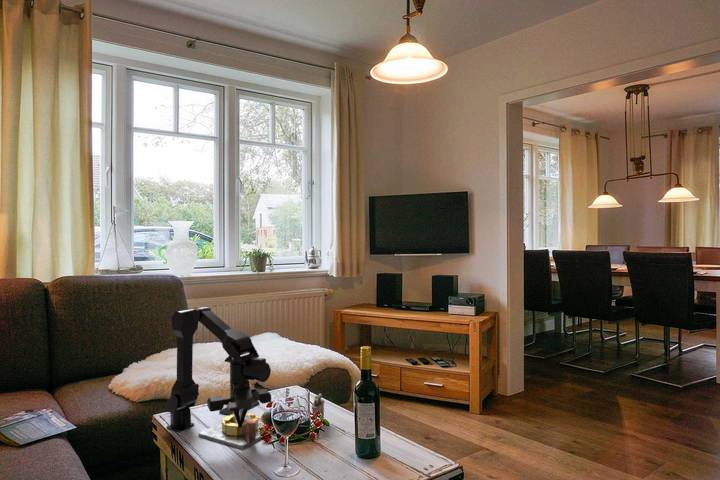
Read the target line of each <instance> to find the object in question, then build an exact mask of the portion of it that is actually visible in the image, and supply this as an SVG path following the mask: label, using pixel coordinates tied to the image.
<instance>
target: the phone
mask: <svg viewBox="0 0 720 480" xmlns="http://www.w3.org/2000/svg"><path fill="white" fill-rule="evenodd" d="M258 405H260V401H259V400H258V401H257V402H253V407H252V408H254V407H256V406H258ZM252 408H250V409H249V410H251V409H252ZM239 412H240V409H239ZM218 413H219V415H225V416H230V415H233V411H229V409H228V408H227V406H226V407H223V408H222V410H219V412H218Z"/></svg>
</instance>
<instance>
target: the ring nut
mask: <svg viewBox="0 0 720 480" xmlns="http://www.w3.org/2000/svg"><path fill="white" fill-rule="evenodd" d="M258 420H259V417H258V416H257V415H256V414H255V413H250V412H249V413H248V412H247V413H246V416H245V419H244V422H243V425H242V427H241V428H239V427H238V424H236V423H234V414H233V415H230V416H229V415H226V417H224V418H223V419H221V423H222V431H223V432H224V433H225V434H226V435H235V436H237V435H239V436H240V435H243V437H244V438H245V439H246V441H247V442H248V443H249V444H251V443H253V444H255V443H257V441H256V429H257V428H258ZM251 445H252V444H251Z"/></svg>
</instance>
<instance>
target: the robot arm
mask: <svg viewBox="0 0 720 480" xmlns="http://www.w3.org/2000/svg"><path fill="white" fill-rule="evenodd" d="M170 319H171V329H172V332H173V333H174V335H175V336H176V378H175V382H174V384H173V386H172V387H171V390H170V397H169V399H168V400H167V401H166V402H165V403H164V404H163V407H164V410H165V412H168V413H170V414H169V415H170V417H169V418H170V421H169V423H170V424H168V425H167V426H166V429H169V430H172V431H176V432H182V431H183V430H186V429H188V428H191V427H193V426H195V423H194V422H192V418H191V417H192V413H191V408H192V407H195V405H196V402H197V400H198V396H200V393H199V390H200V389H199V388H200V385H199V384H198V383H196V381H194V379H193V362H194V361H193V358H194V356H193V355H194V354H193V352H194V349H193V347H194V345H193V344H194V343H193V341H194V335H195V333H196V331H197V329H198V328H199V323H200V324H201V325H202V326H203V327H205V328H206V329H207V330H208V331H209V332H210V333H212V335H214V336H215V337H216V338H217V339H218V340H219V341H220V342H221V345H222V349H223V350H224V351H225V352H226V353H227V355H228V356H227V357H226V358H225V359H224V362H225V363H229V397H225V398H223V397H222V396H221V395H214V396H209V397H208V398H207V401H206V403H207V404H206V405H207V409H208V410H209V411H210V412H217V411H220V410H222V409H224V408H225V407H224V406H226V407H227V408H228V409H229V411H233V413H234V416H235V419H236V422H237V424H238V427H239V428H241V427H242V425H243V422H244V419H245V416H246V413H248V412H249V410H251V409H252V407H253V402H257V401H259V403H261V404H266V403H267V404H268V403H271V402H272V394H271V392H270V391H268V389H267V388H263V389H262V388H261V389H259V388H253V389H252V388H251V385H250V381H255V382H258V383H259V382H260V383H266V382H267V381H268V380H269V379H270V376H271V372H272V369H271V366H270V364H269V363H268V362H267V359H266V358H263V357H261V358H259V357H260V355H259V353H258V351H257V350H256V348H255V347H256V346H254V344H253V342H252V339H251V338H250V336H248V335H247V334H245V333H244V332H241V331H238V330H234V329H233V328H231V327H230V326H229V325H228V324H227V323H226V322H225V321H223V320H222V319H221V318H220V317H219V316H218V315H216V313H214V312H213V311H212V309H211V308H210V307H208V306H201V307H197V308H195V309H193V308H192V309H184V310H179V311H175V312H174V313H173V314H172V315H171V318H170ZM250 408H251V409H250ZM253 408H254V407H253ZM239 409H240V415H239Z"/></svg>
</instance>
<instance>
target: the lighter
mask: <svg viewBox="0 0 720 480" xmlns="http://www.w3.org/2000/svg"><path fill="white" fill-rule="evenodd" d="M322 398H323V394H322V393H318V395H315V397H314V399H313V403H312V405H311V412H312V413H311V414H314V413H316V412H317V411H319V412H320V413H321V414H322V419H324V420H325V417H324V416H325V399H322Z"/></svg>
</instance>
